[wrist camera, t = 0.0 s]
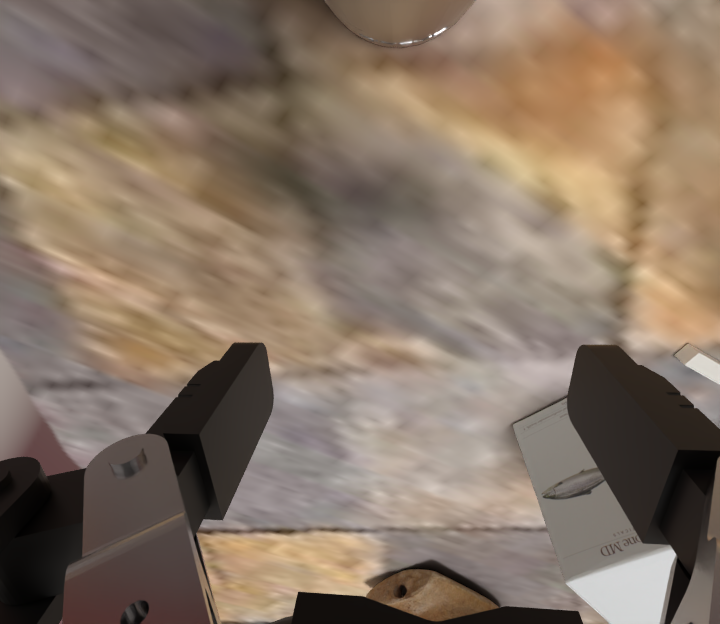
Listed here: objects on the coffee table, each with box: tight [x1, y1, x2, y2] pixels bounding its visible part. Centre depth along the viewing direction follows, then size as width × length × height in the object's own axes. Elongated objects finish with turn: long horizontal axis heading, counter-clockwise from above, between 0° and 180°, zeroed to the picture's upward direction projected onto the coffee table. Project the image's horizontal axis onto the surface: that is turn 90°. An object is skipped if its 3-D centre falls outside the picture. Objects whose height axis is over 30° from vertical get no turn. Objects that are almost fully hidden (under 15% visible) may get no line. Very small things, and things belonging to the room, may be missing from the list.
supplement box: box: [513, 398, 676, 624], centre depth 27 cm, size 7×7×13 cm
